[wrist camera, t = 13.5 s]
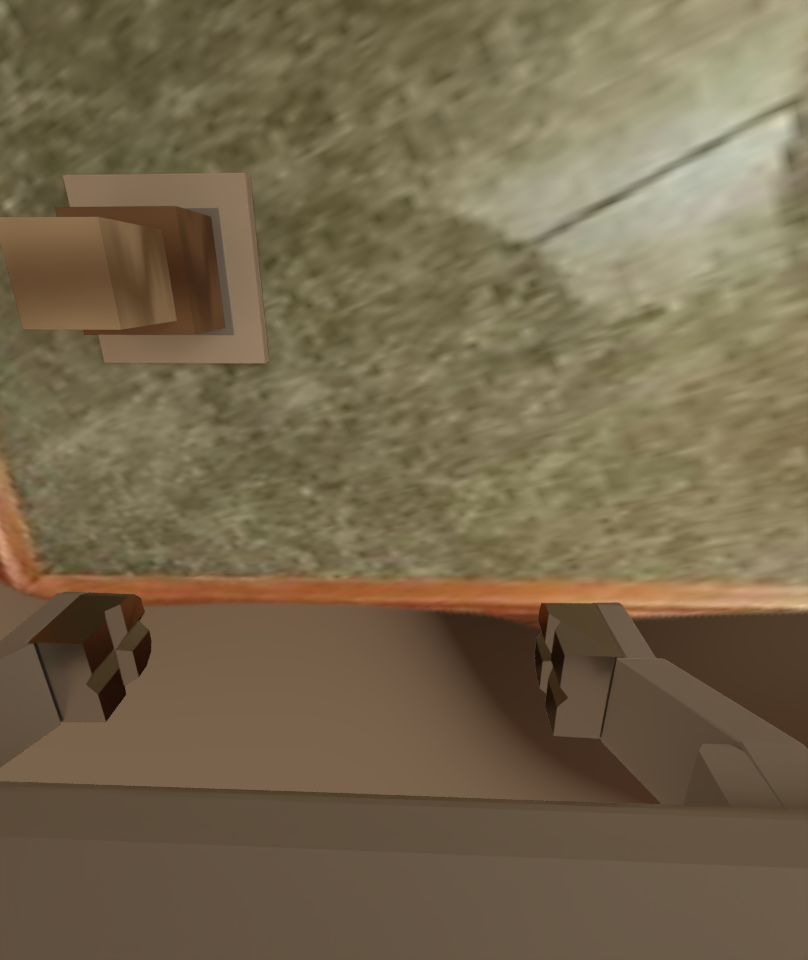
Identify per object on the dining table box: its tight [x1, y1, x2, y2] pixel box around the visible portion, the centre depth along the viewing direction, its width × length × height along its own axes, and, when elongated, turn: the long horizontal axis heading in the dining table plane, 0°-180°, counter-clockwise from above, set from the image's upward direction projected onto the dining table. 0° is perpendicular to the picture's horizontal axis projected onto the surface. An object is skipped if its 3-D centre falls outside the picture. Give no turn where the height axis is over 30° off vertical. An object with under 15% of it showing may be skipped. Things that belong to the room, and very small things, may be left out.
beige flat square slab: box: [63, 173, 269, 363], centre depth 35 cm, size 12×12×1 cm
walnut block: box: [55, 206, 226, 335], centre depth 32 cm, size 7×7×5 cm
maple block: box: [0, 217, 177, 330], centre depth 27 cm, size 5×5×6 cm
